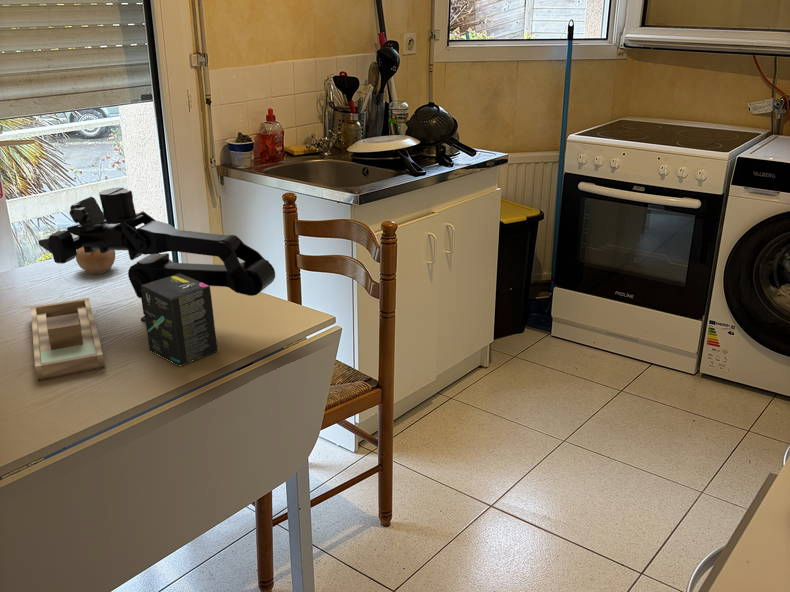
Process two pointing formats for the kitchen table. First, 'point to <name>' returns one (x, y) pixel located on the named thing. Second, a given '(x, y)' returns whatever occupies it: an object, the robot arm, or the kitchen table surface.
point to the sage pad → (67, 352)
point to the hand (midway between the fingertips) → (53, 236)
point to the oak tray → (43, 343)
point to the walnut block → (64, 331)
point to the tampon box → (179, 318)
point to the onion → (95, 260)
